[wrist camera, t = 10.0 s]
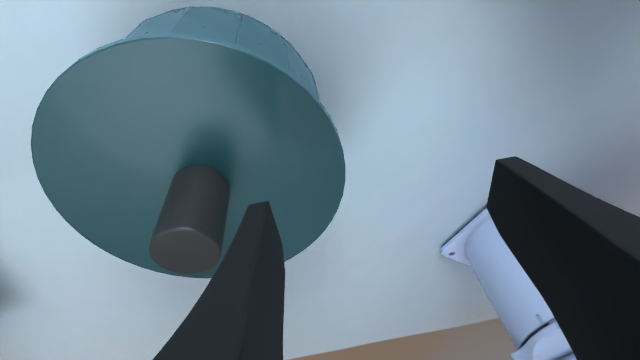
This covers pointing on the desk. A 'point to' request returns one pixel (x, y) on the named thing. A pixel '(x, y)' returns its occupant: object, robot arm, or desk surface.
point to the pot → (231, 35)
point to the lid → (184, 150)
